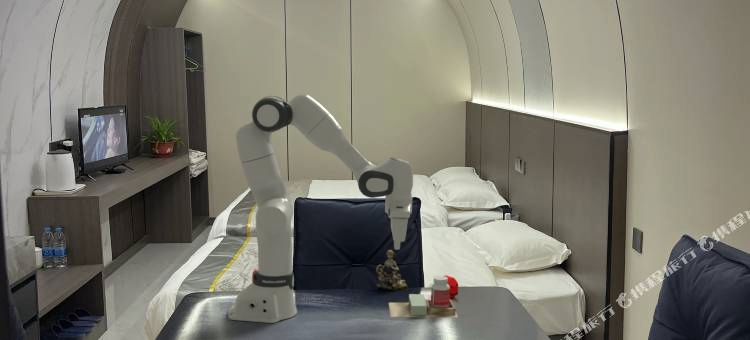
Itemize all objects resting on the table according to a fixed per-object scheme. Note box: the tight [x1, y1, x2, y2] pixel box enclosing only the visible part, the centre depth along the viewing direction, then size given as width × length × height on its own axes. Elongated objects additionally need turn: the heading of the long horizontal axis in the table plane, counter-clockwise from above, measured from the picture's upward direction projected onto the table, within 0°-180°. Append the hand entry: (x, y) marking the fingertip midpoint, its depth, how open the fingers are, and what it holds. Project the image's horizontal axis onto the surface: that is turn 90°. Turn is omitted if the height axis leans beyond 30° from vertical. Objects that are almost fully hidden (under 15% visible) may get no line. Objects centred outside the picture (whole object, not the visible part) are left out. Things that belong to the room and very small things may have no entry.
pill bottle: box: [430, 275, 450, 308], centre depth 225 cm, size 6×6×11 cm
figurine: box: [375, 249, 409, 292], centre depth 249 cm, size 12×11×15 cm
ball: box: [443, 275, 459, 299], centre depth 242 cm, size 8×8×8 cm
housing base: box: [388, 299, 459, 318], centre depth 226 cm, size 22×14×3 cm, turn 91°
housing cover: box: [408, 293, 427, 316], centre depth 226 cm, size 5×12×3 cm, turn 1°
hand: (396, 248), depth 223 cm, fingers closed
